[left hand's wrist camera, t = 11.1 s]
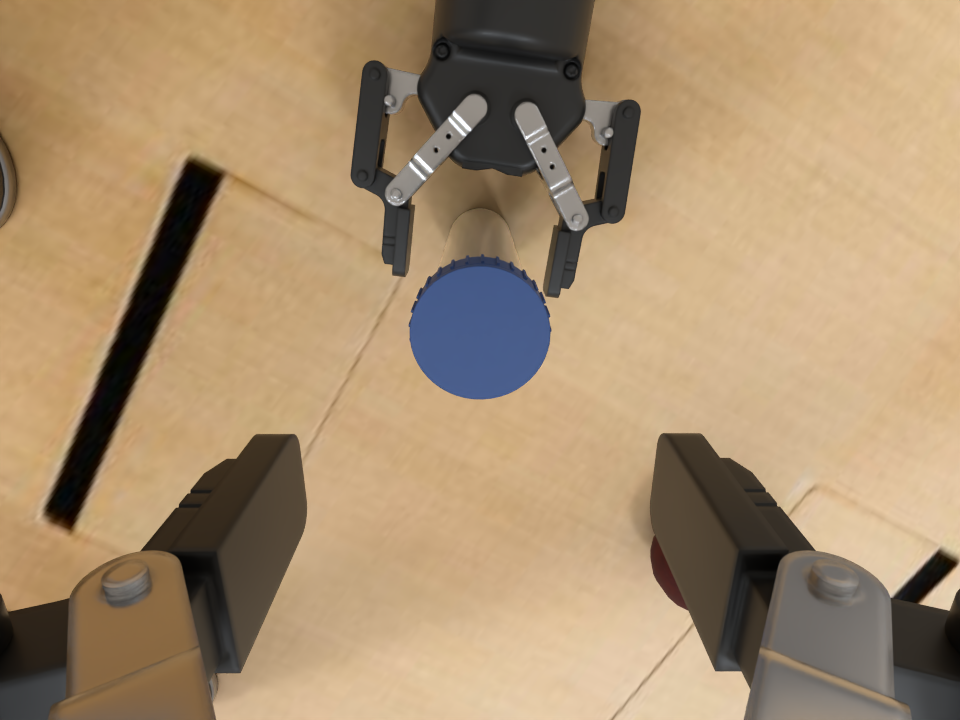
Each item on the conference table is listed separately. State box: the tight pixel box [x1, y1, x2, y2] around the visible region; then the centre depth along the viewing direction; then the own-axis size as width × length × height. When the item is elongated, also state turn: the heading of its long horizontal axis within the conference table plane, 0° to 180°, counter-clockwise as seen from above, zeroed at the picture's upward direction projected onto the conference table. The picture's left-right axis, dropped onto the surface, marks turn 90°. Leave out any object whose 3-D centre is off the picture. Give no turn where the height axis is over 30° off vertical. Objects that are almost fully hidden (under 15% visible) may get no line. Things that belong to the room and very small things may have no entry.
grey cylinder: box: [437, 208, 523, 271], centre depth 29 cm, size 4×4×20 cm
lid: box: [409, 254, 551, 399], centre depth 21 cm, size 5×5×2 cm
